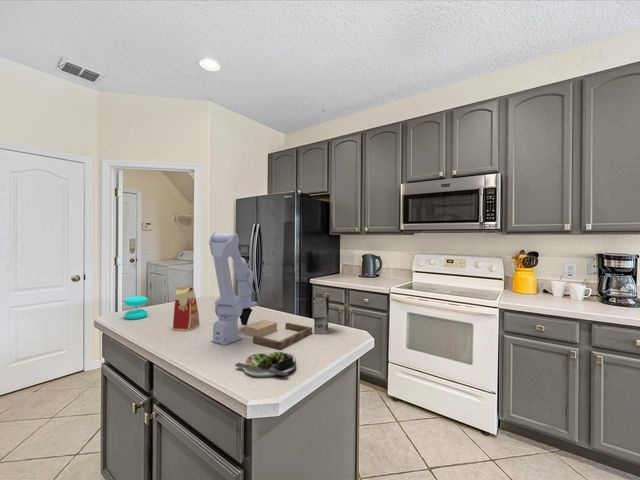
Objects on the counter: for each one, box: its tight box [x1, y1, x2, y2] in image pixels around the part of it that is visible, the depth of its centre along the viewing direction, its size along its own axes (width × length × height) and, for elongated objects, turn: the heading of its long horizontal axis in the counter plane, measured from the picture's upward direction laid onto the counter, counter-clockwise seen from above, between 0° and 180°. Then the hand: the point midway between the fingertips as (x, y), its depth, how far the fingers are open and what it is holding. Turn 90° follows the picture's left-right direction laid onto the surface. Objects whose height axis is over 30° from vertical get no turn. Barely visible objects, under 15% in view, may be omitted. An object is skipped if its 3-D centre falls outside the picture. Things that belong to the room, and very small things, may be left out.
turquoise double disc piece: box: [124, 295, 149, 320], centre depth 151 cm, size 10×10×10 cm
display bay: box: [252, 322, 313, 351], centre depth 125 cm, size 23×14×2 cm, turn 150°
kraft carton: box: [243, 319, 278, 338], centre depth 132 cm, size 12×8×4 cm, turn 147°
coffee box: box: [313, 293, 330, 335], centre depth 136 cm, size 9×6×16 cm
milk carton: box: [172, 284, 201, 332], centre depth 136 cm, size 9×9×20 cm
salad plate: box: [235, 351, 297, 378], centre depth 97 cm, size 19×18×5 cm
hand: (244, 324), depth 137 cm, fingers closed
